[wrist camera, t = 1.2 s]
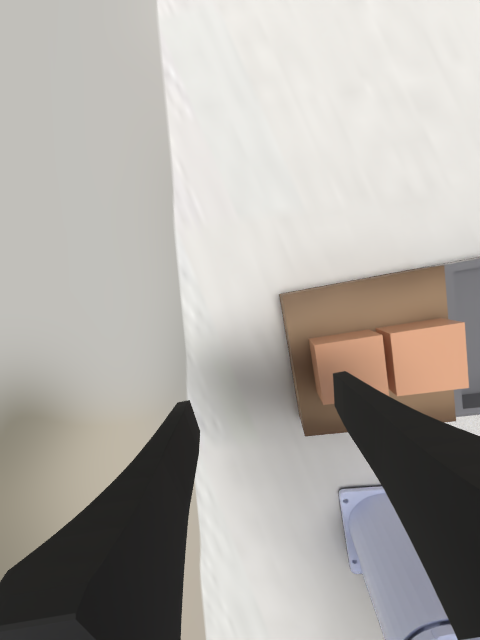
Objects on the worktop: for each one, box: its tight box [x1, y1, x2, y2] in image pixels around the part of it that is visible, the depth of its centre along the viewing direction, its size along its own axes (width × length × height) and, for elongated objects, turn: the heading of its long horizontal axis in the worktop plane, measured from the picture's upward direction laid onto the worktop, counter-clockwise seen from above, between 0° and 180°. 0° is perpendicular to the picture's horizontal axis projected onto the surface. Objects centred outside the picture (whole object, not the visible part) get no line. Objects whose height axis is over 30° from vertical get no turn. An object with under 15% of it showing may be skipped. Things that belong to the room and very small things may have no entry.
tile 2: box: [309, 329, 389, 405], centre depth 17 cm, size 4×4×2 cm
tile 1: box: [376, 318, 469, 396], centre depth 16 cm, size 4×4×2 cm
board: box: [279, 265, 456, 436], centre depth 19 cm, size 12×12×3 cm
